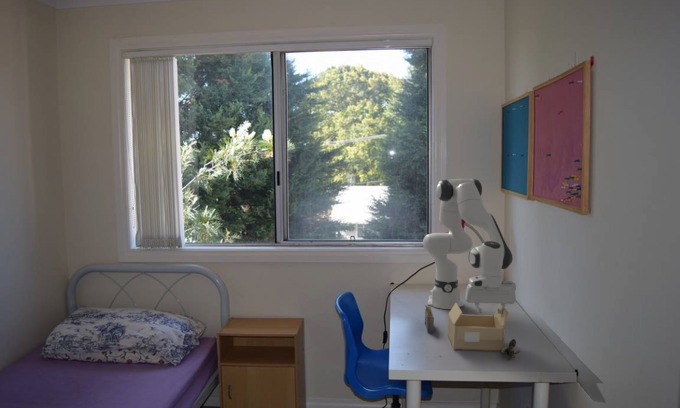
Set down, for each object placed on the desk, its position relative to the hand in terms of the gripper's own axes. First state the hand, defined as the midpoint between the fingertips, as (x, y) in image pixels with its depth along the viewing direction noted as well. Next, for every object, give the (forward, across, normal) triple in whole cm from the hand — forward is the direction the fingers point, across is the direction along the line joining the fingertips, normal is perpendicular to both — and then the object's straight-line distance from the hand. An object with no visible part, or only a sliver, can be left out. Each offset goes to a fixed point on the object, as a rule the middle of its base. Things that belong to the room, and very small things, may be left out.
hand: (489, 313), depth 201 cm
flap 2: (+3, -4, -1) cm, 5 cm away
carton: (+14, +6, -1) cm, 15 cm away
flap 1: (+3, +16, 0) cm, 16 cm away
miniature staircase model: (+14, +23, -18) cm, 32 cm away
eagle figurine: (+14, -6, +11) cm, 19 cm away
